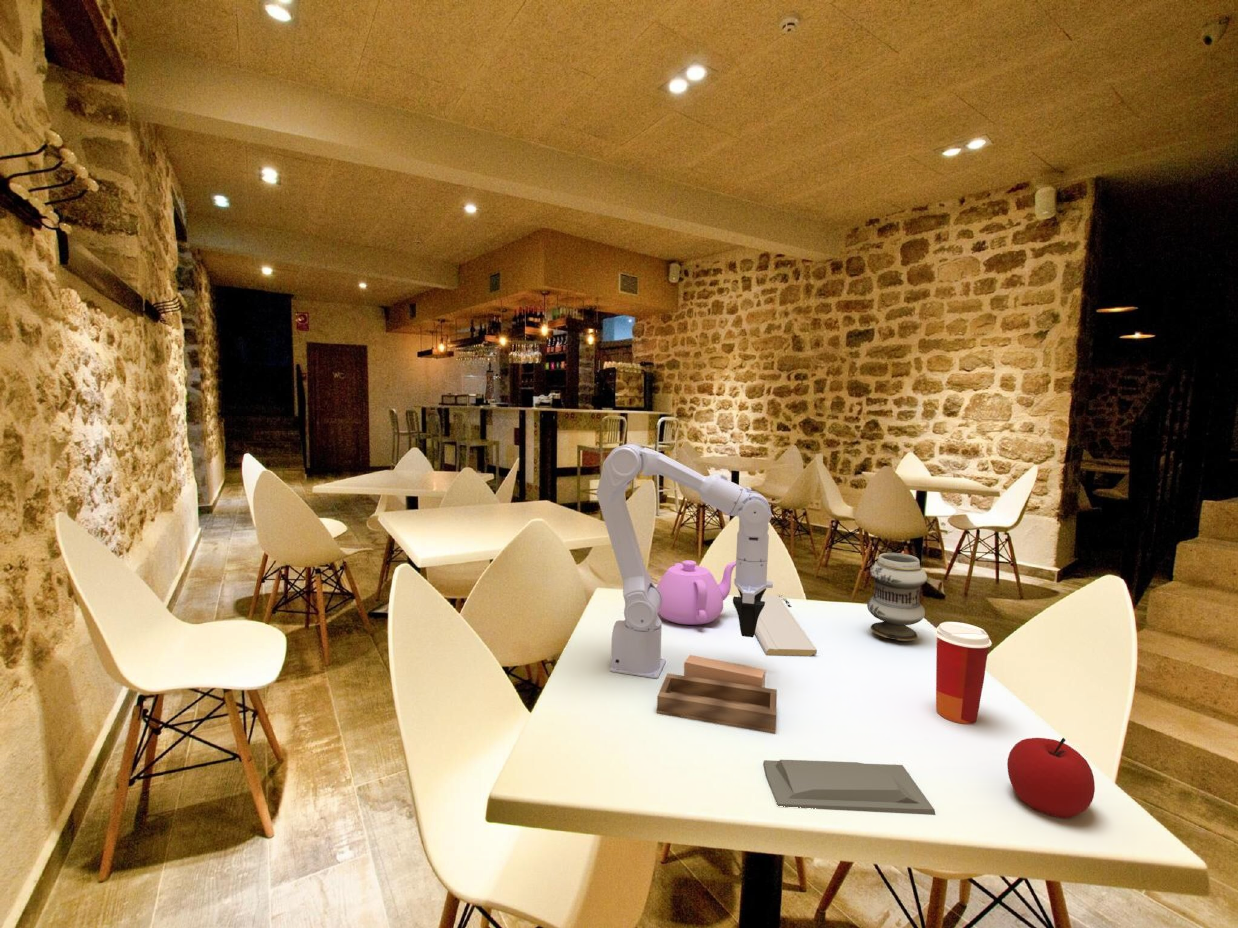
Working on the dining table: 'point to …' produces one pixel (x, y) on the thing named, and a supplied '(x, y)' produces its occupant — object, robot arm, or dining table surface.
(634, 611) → the robot arm
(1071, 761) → the apple
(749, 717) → the tray
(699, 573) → the teapot
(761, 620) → the baseboard
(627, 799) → the dining table surface
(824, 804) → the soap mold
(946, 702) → the coffee cup
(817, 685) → the dining table surface
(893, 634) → the apothecary jar
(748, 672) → the clay block
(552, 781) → the dining table surface
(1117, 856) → the dining table surface
